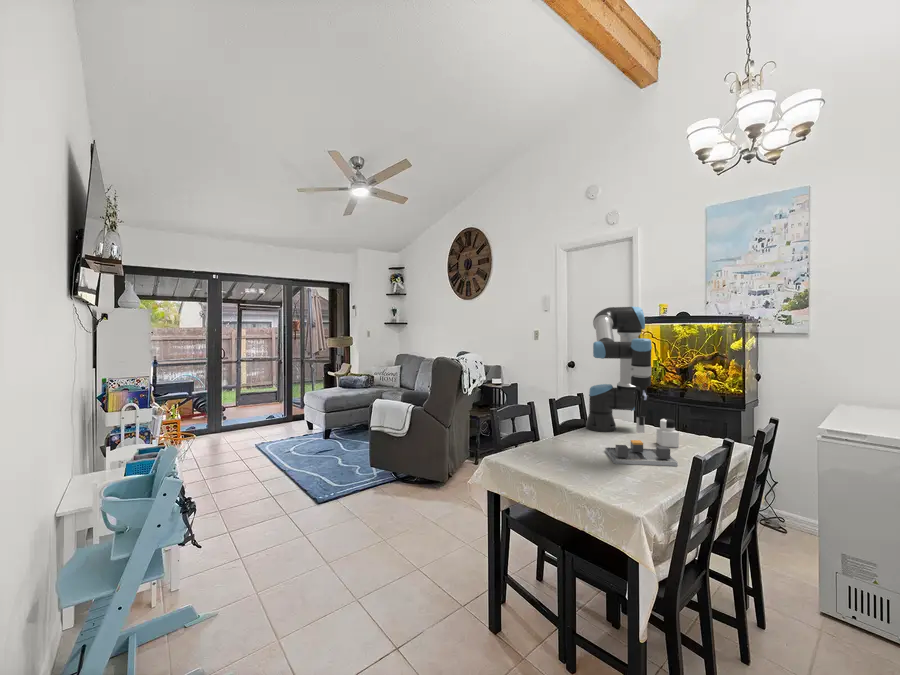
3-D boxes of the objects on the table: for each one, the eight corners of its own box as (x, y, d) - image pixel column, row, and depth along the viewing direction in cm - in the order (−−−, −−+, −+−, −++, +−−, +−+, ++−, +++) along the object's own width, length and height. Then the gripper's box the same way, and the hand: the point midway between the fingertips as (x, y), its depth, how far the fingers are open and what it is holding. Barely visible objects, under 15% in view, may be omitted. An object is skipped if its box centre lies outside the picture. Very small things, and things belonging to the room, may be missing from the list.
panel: (605, 451, 181) (605, 447, 181) (662, 453, 177) (662, 449, 177) (613, 463, 165) (614, 459, 165) (677, 466, 161) (677, 461, 161)
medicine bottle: (672, 442, 191) (672, 417, 191) (679, 447, 184) (679, 421, 184) (656, 442, 192) (656, 417, 191) (662, 447, 185) (662, 421, 184)
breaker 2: (656, 455, 168) (656, 446, 168) (666, 455, 167) (666, 446, 167) (659, 458, 164) (659, 449, 164) (670, 459, 164) (670, 449, 163)
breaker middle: (630, 449, 177) (630, 440, 177) (640, 449, 176) (640, 440, 176) (633, 452, 173) (633, 442, 173) (643, 452, 172) (643, 443, 172)
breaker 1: (615, 454, 171) (615, 444, 170) (625, 454, 170) (625, 445, 170) (617, 457, 167) (617, 447, 166) (628, 457, 166) (628, 448, 166)
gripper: (627, 373, 175) (626, 427, 177) (636, 378, 162) (635, 436, 164) (645, 373, 174) (644, 427, 175) (656, 378, 161) (655, 437, 163)
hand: (640, 432), depth 170 cm, fingers closed
